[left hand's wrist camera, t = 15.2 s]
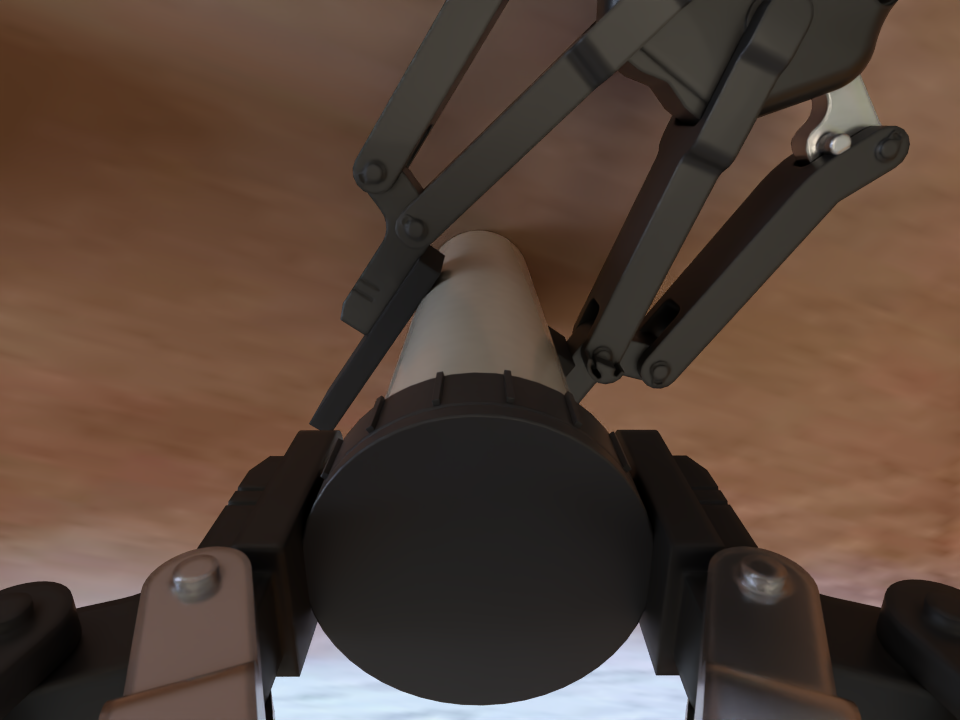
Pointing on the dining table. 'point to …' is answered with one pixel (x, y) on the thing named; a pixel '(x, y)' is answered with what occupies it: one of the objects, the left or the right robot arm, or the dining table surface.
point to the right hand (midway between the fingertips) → (391, 447)
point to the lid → (478, 541)
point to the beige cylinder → (479, 319)
